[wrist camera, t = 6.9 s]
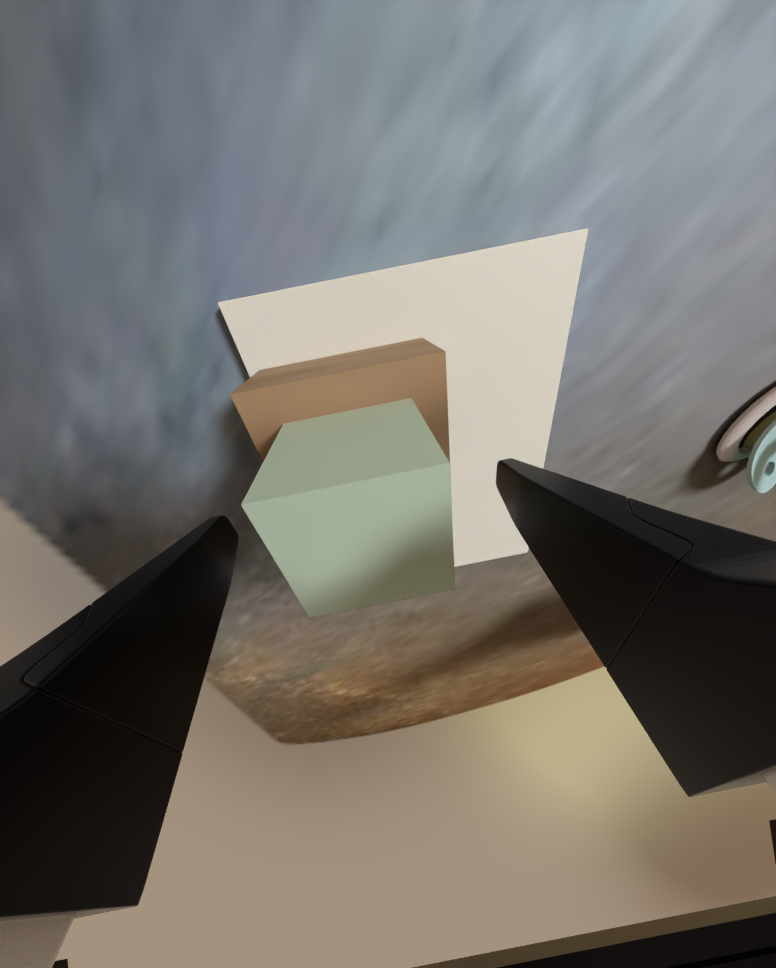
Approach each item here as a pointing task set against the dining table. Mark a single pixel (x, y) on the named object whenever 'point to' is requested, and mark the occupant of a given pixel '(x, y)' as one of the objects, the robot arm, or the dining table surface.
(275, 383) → the base block
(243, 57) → the dining table surface
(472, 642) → the dining table surface
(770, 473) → the pacifier
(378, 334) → the board
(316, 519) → the top block
